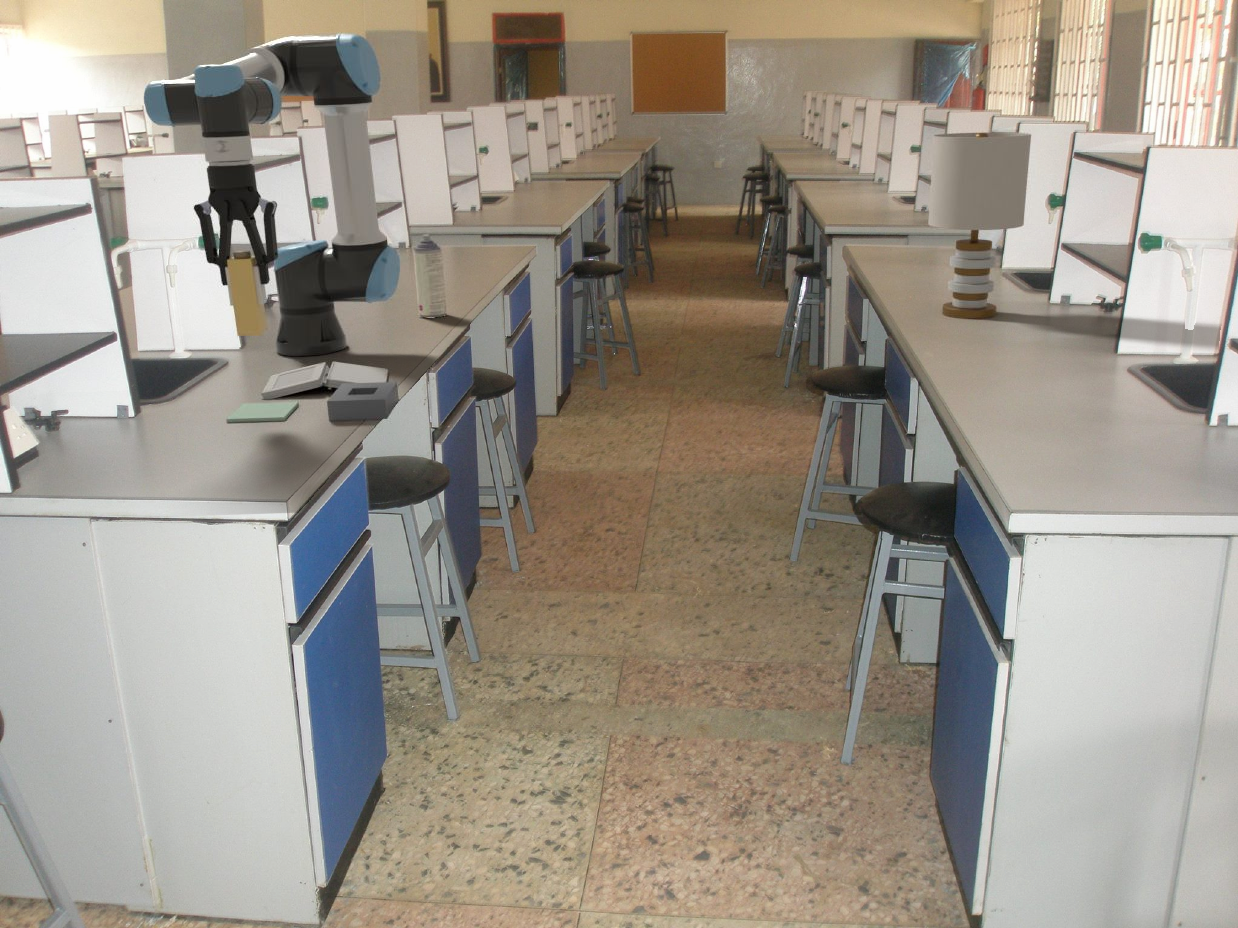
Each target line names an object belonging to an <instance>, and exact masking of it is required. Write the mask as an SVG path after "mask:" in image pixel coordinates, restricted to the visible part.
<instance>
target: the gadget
mask: <svg viewBox="0 0 1238 928" xmlns="http://www.w3.org/2000/svg"><path fill="white" fill-rule="evenodd" d="M388 373H389V369H388V368H384V367H383V368H382V367H376V366H367V365H362V364H354V363H348V362H347V363H346V362H338V361H332V362H331V365H330V367H329V365H327V362H326V361H324V362H320V363H316V364H311V365H308V366H304V367H299V368H295V369H291V370H287V371H283V372H279V373H275V374H271V376H270V377H269V379H268V381H267V383H266V385H265V386H264V388H263V390H262V392H261V400H272V399H277V398H280V397H284V396H285V397H286V396H289V395H292V394H293V395H294V394H296V393H297V394H298V393H300V392H304V391H308V390H309V391H310V390H313V389H317V388H322V387H323V386H324V387H326V388H328V387H329V388H335V389H338V388H339V387H340V385H341V384H344V383H375V382H387V379H388Z"/></svg>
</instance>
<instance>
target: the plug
mask: <svg viewBox="0 0 1238 928" xmlns="http://www.w3.org/2000/svg"><path fill="white" fill-rule="evenodd" d="M232 254H233V256H232V257H230V259H228V260H227V263H228V270H229V278H230V285H231V292H232V299H233V306H232V307H233V312H234V313H233V314H234V319H235V326H236V333H237V334H236V335H237V337H239V336H240V337H243V336H244V337H245V336H261V335H263V334H265V333H266V332H267V331H268V324H267V318H266V317H267V316H266V309H265V303H264V304H263V305H258V300H257V292H256V285H255V277H254V269H253V267H254V266H255V265H256V263H257V261H256V258H255V255H252V254H251V250H236V251H233V252H232Z"/></svg>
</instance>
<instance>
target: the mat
mask: <svg viewBox="0 0 1238 928" xmlns="http://www.w3.org/2000/svg"><path fill="white" fill-rule="evenodd" d="M299 405H300V404H299V401H288V402H287V401H285V402H284V401H281V402H280V401H279V402H252V403H251V402H250V403H247V402H246V403H242V404H241V405H240V406H238V408H237V409H236V410H234V411H233V412H232V413H231V414H230V415H229V416H228V417H227V418H226V419H225V420H226V423H247V422H248V423H249V422H250V423H252V422H278V421H279V422H281V421H282V422H283V421H286V420H287V418H288V417H289V416H290V415H291V414H292V413H293V412H294V411H295V410H296V409H297V408H298V406H299Z"/></svg>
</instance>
